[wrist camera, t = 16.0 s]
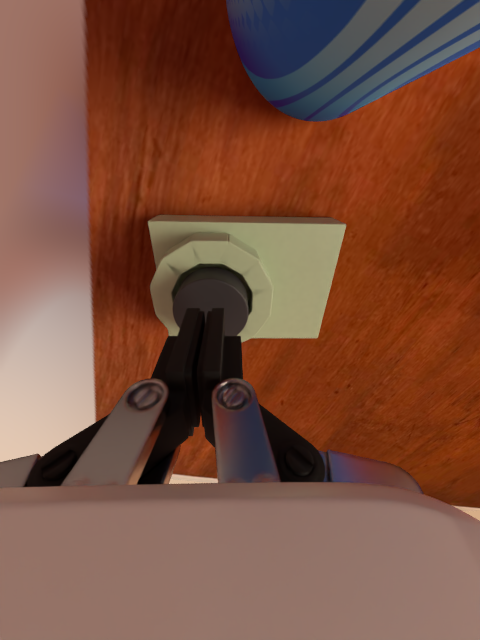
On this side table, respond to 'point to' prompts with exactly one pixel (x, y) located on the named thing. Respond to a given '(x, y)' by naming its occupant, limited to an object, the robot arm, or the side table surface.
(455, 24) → the beer can
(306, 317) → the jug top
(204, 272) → the lid button
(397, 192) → the side table surface
